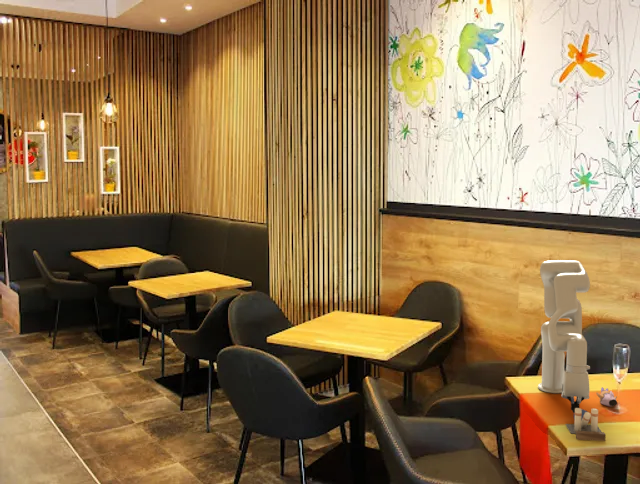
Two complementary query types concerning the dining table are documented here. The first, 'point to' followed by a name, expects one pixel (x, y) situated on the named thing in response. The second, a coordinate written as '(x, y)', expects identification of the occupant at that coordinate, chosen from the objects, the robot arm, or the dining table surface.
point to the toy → (607, 397)
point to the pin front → (585, 420)
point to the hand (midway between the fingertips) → (574, 412)
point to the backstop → (590, 435)
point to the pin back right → (577, 419)
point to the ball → (582, 414)
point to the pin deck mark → (588, 428)
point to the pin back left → (594, 420)
